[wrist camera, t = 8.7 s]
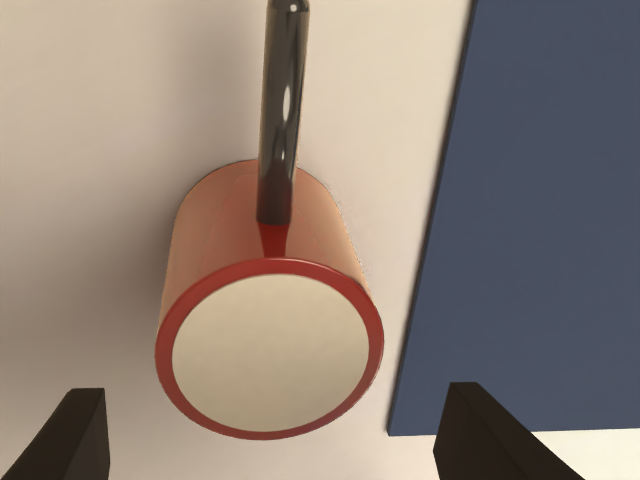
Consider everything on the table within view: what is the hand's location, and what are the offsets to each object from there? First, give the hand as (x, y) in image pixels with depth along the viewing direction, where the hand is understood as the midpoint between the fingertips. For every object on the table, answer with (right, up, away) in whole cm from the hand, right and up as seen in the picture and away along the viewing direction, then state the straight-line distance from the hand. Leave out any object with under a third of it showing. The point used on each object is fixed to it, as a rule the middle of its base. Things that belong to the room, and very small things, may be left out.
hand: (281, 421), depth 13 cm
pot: (-1, +6, +6) cm, 8 cm away
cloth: (+12, +3, +9) cm, 16 cm away
